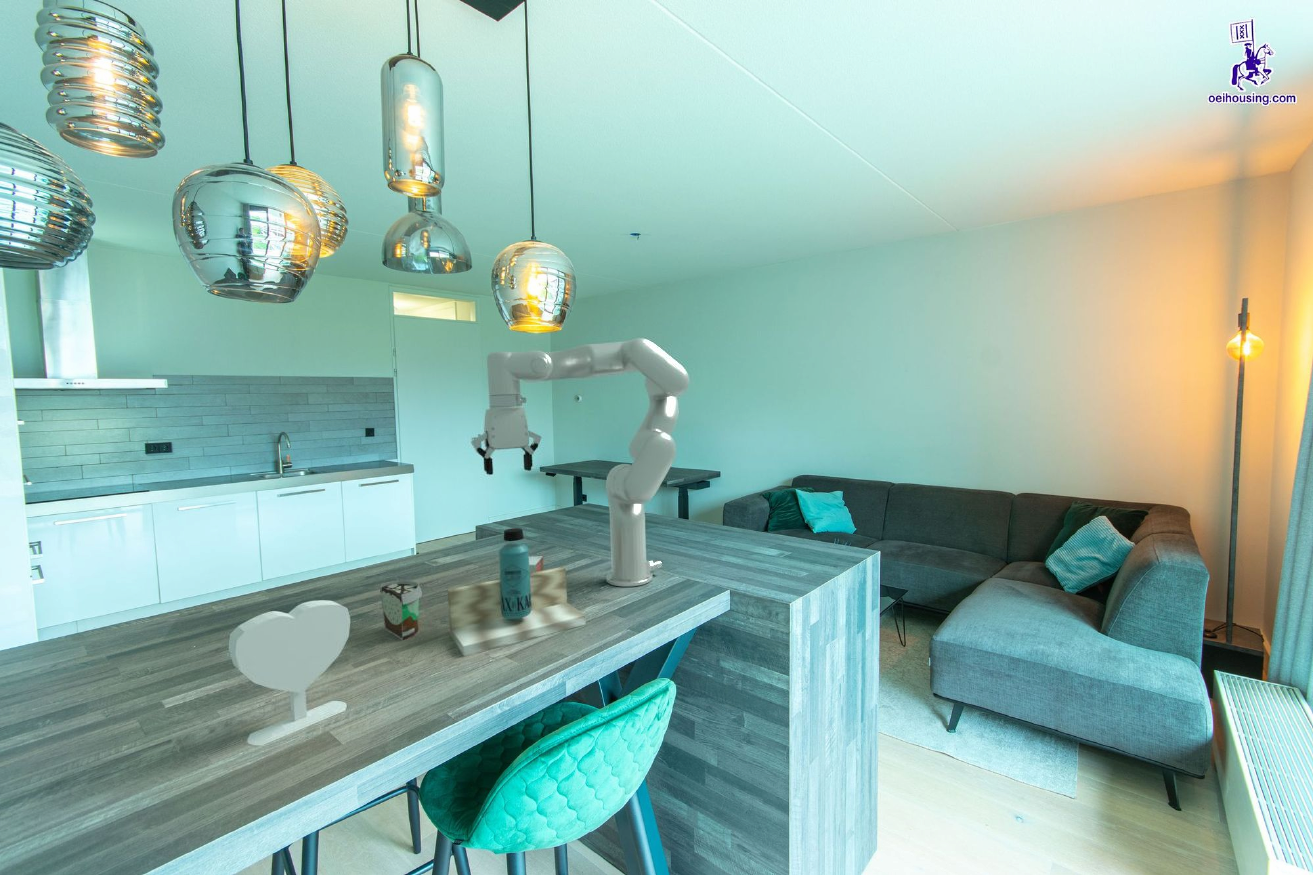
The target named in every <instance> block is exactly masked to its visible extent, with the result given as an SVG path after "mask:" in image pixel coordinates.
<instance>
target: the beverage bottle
mask: <svg viewBox="0 0 1313 875" xmlns="http://www.w3.org/2000/svg"><path fill="white" fill-rule="evenodd" d="M523 532H524V531H523V529H522V528H518V527H515V528H508V529H505V530H504V531H503V541H505V542H511V543H507V544H504V545H503V546H502V547H501V548H500V549H499V550H498V555H499V579H500V585H501V586H500V587H501V602H500V604H501V609H502V610H501V612H502V613H501V614H502V616H503V617H504V618H507V619H518V618H523V617H526V616H528V615H529V614H530V613H531V610H532V609H531V608H532V607H531V605H532V600H531V590H530V587H531V586H530V585H531V584H530V576H531V574H530V570H529V556H530V549H529V547H528V546H527V545H525V544H524V543H522V542H517V541H521V540H523V539H524V533H523Z"/></svg>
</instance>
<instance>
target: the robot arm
mask: <svg viewBox="0 0 1313 875" xmlns="http://www.w3.org/2000/svg"><path fill="white" fill-rule="evenodd" d="M486 367H487V368H486V369H487V370H486V371H487V386H488V389H487V390H488V405H489V408H486V409H485V412H484V413H485V415H484V426H483V428H484V429H483V430H484V432H483V433H482V434H480V435H478V436H477V437H475V438H473V439H472V440H471V441H470V442H471V445H472V447H473V448H474V450H475V452H476V453H477V454H478V455H480V456H481V458H483V469H484V472H485V473H486V475H489V476H490V475H494V466H493V465H494V464H493V458H492V457H491V456H492V455H493V453H494V452H495V450H496V451H499V450H509V449H521V450H522V451H523V452H524V454H522V456H523V470H525V471H532V467H533V465H534V464H533V455H534V453H535V451H536V450H537V448H538V447H539V444H540V442H541V440H542V436H541V435H540V434H538V433H535V432H533V431H530V430H529V425H528V420H527V415H526V411H525V408H524V407H522V406H523V404H525V403H526V402H527V398H526V397H522V394H521V380H522V382H523V381H524V383H525V382H526V383H538V382H546V381H547V382H549V381H557V380H565V379H568V380H569V379H588V378H597V377H607V376H615V375H623V374H625V375H626V374H631V373H637V372H638V373H641V375H643V376H644V377H645V379H644V387H645V390H646V394H647V395H648V399H649V406H648V409H647V412H646V415H645V417H644V418H643V420H642V422H641V423H640V425H639V427H638V429H637V430H636V432H635V434H634V436H633V437H632V439H631V440H630V443H629V446H628V453H629V456H630V457H631V458H632V460H633V462H632V463H631V464H628V463H621V464H618V465H616V466H614V467H613V468H611V469H610V471H609V472H608V474H607V476H606V480H605V488H606V489H605V490H606V495H607V500H608V501H607V502H608V510H609V512H608V513H609V529H610V530H609V532H610V556H611V558H610V562H611V563H610V564H611V572H609V573H608V574H606V578H605V579H606V582H607V583H608V584H610V585H611V586H615V587H638V586H641V585H645V584H648V583H650V582H651V581H652V580H653V573H652V572H651V571H653V570H654V569H655V570H656V569H660V568H662V567H663V563H662V562H661V560H657V561H653V560H647V547H646V546H647V542H646V514H645V512H646V511H645V505H644V504H646V503H648V502H649V501H651V500H652V498H653V497H654V496H655V495H656V493H657V492H658V490H659V488H660V487H661V485H662V483H663V481H664V479H665V478H666V476H667V474H668V472H669V470H670V468H671V467H672V465H673V463H674V461H675V457H676V454H677V453H676V452H677V447H676V442H675V439H674V438H673V437H672V436H671V435H672V433H673V430H674V429H675V427H676V425H677V422H678V419H679V415H680V413H679V412H680V407H679V401H678V397H681V396H683V395H684V394H685V393H686V392H687V391H688V389H689V386H690V380H691V379H690V376H689V373H688V372H687V370H686V369H685V368H684V367H683V366H682V364H680V363H679V362H677V361H676V360H675V359H674V358H672V357H671V356H670V355H669V354H668V353H667V352H665V351H664V350H663V349H662V348H660V347H659V346H658V345H657V344H655V343H654V342H652V341H650V340H649V339H647V338H643V337H638V338H634V339H631V340H626V341H615V342H613V341H612V342H603V343H589V344H583V345H578V346H575V347H571V348H568V349H562V350H556V351H550V352H549V351H548V352H546V351H545V352H544V351H542V350H537V349H534V350H528V351H519V352H514V351H494V352H493V351H492V352H490V353H488V354H487V356H486ZM530 438H531V439H533V441H532V443H531V444H530ZM482 442H483V444H484V447H485V449H483V448H482V447H481V445H480V443H482ZM529 444H530V445H529Z"/></svg>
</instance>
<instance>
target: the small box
mask: <svg viewBox="0 0 1313 875" xmlns="http://www.w3.org/2000/svg"><path fill="white" fill-rule="evenodd" d="M544 569H545V568H544V556H543V555H540V556H539V555H536V556H532V555H531V556H530V555H529V570H530V573H534V572H539V571H544Z"/></svg>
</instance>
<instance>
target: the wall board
mask: <svg viewBox="0 0 1313 875" xmlns="http://www.w3.org/2000/svg"><path fill="white" fill-rule="evenodd" d="M566 572H567V570H566V568H565V567H563V566H560V567H555V568H550V569H545V570H544V571H539V572H534V573H530V574H531V576H530V584H531V585H530V586H531V587H530V590H531V600H532V605H531V607H532V608H531V609H532V610H531V613H530V614H529V615H528V616H526V617H523V618H518V619H507V618H504V617H503V616H502V614H501V613H502V612H501V610H502V609H501V604H500V602H501V587H500V586H501V585H500V578H499V579H494V580H489V581H485V582H478V583H473V584H470V585H469V584H468V585H465V586H459V587H455V588H449V589H447V603H448V604H447V605H448V607H447V608H448V621H449V622H448V623H449V635H450V636H449V637H451V639H452V641H453V642H454V644H455V645H456V647H457V648H458V650H459V651H460V653H461V654H462V656H463V657H467V656H470V655H474V654H479V653H481V652H485V651H489V650H490V651H491V650H493V649H497V648H501V647H505V646H508V645H513V644H517V643H521V642H524V641H528V640H533V639H535V638H539V637H544V636H547V635H551V634H555V633H557V632H562V631H565V630H570V629H573V628H578V627H582V626H585V625H586V623H587V622H586V621H587V620H586V615H585V613H583V612H582V611H579V610H578V609H577V608H575V607H574V606H572V605H571V604H570V603H568V593H567V573H566Z"/></svg>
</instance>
